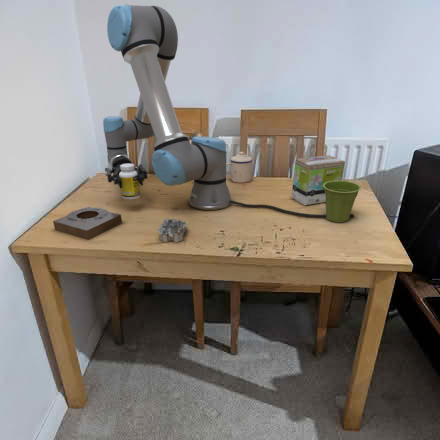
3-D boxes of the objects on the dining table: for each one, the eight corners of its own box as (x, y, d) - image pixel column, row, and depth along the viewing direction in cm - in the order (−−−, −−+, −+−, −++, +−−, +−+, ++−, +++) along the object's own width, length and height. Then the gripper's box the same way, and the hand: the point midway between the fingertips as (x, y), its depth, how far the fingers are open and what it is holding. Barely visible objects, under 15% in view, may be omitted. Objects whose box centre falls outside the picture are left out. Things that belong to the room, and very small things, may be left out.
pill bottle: (138, 200, 140) (134, 167, 134) (120, 200, 140) (115, 167, 135) (141, 194, 146) (138, 162, 140) (124, 194, 146) (120, 162, 140)
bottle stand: (124, 222, 137) (123, 213, 135) (88, 239, 125) (86, 230, 124) (89, 213, 144) (88, 205, 142) (52, 229, 132) (50, 220, 131)
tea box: (305, 206, 148) (310, 165, 140) (290, 198, 155) (294, 158, 148) (339, 200, 153) (346, 160, 145) (323, 192, 161) (328, 153, 153)
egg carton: (181, 243, 123) (180, 230, 120) (157, 242, 123) (155, 229, 121) (188, 228, 132) (187, 216, 129) (165, 227, 132) (164, 215, 130)
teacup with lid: (250, 176, 179) (251, 149, 173) (252, 183, 172) (253, 154, 165) (223, 177, 179) (223, 149, 173) (223, 183, 172) (223, 155, 165)
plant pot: (311, 215, 140) (315, 183, 134) (340, 210, 144) (345, 178, 138) (333, 228, 131) (338, 193, 125) (362, 222, 135) (369, 188, 129)
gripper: (148, 173, 159) (160, 190, 140) (97, 178, 153) (103, 197, 135) (146, 153, 155) (158, 168, 136) (93, 157, 149) (99, 174, 131)
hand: (131, 182), depth 135 cm, fingers closed on pill bottle, 6 cm apart
